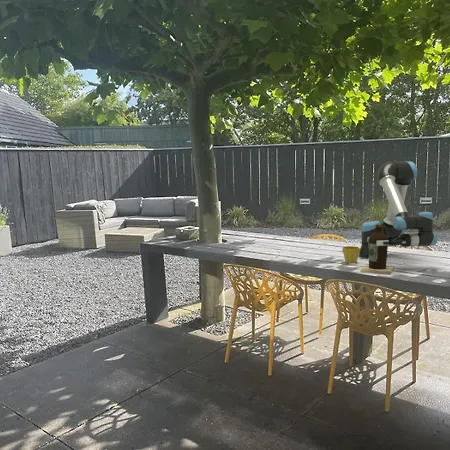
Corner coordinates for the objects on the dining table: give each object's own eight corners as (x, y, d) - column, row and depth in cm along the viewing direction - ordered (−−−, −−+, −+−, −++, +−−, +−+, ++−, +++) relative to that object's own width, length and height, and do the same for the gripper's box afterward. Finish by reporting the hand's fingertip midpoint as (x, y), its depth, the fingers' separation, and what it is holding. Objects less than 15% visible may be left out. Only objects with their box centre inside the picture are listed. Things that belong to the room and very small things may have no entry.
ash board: (365, 266, 257) (365, 264, 256) (393, 268, 249) (393, 266, 249) (360, 272, 243) (360, 269, 242) (390, 274, 235) (390, 271, 235)
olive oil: (377, 264, 253) (379, 222, 250) (391, 268, 243) (392, 224, 240) (363, 266, 249) (364, 224, 245) (377, 270, 239) (378, 226, 236)
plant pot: (349, 265, 262) (349, 249, 260) (338, 262, 271) (339, 246, 270) (363, 263, 266) (363, 247, 264) (352, 260, 275) (352, 245, 274)
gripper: (419, 250, 233) (380, 251, 232) (398, 243, 257) (364, 244, 257) (419, 236, 232) (381, 238, 231) (399, 230, 257) (364, 231, 256)
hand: (372, 241), depth 244 cm, fingers open, 13 cm apart
